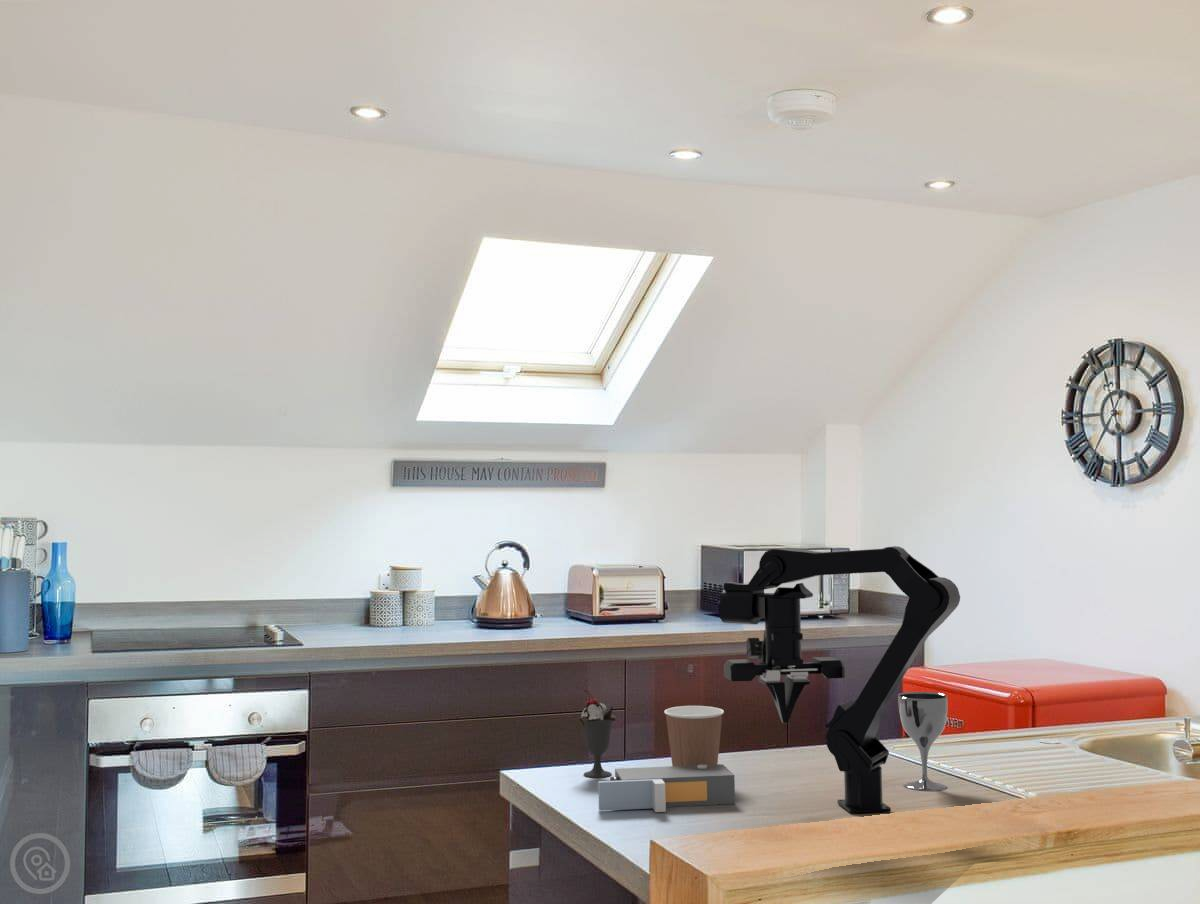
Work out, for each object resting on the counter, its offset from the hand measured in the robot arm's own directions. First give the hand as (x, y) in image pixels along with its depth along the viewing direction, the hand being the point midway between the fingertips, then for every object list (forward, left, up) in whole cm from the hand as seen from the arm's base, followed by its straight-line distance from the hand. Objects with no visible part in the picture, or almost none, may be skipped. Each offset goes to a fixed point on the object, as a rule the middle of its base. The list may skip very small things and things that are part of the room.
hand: (784, 722), depth 187 cm
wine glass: (+4, -25, -12) cm, 28 cm away
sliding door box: (+2, +18, -12) cm, 22 cm away
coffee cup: (+14, +12, -12) cm, 22 cm away
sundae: (+22, +28, -12) cm, 38 cm away
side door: (-4, +26, -12) cm, 29 cm away
